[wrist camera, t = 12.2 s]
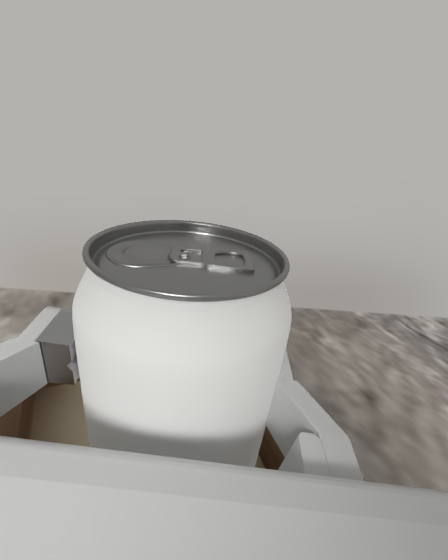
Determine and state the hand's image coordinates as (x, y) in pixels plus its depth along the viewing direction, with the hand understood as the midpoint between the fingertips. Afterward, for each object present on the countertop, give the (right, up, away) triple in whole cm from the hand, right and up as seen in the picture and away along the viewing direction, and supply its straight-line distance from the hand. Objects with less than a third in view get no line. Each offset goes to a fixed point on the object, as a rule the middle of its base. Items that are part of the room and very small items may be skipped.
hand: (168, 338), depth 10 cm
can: (0, -8, +3) cm, 8 cm away
